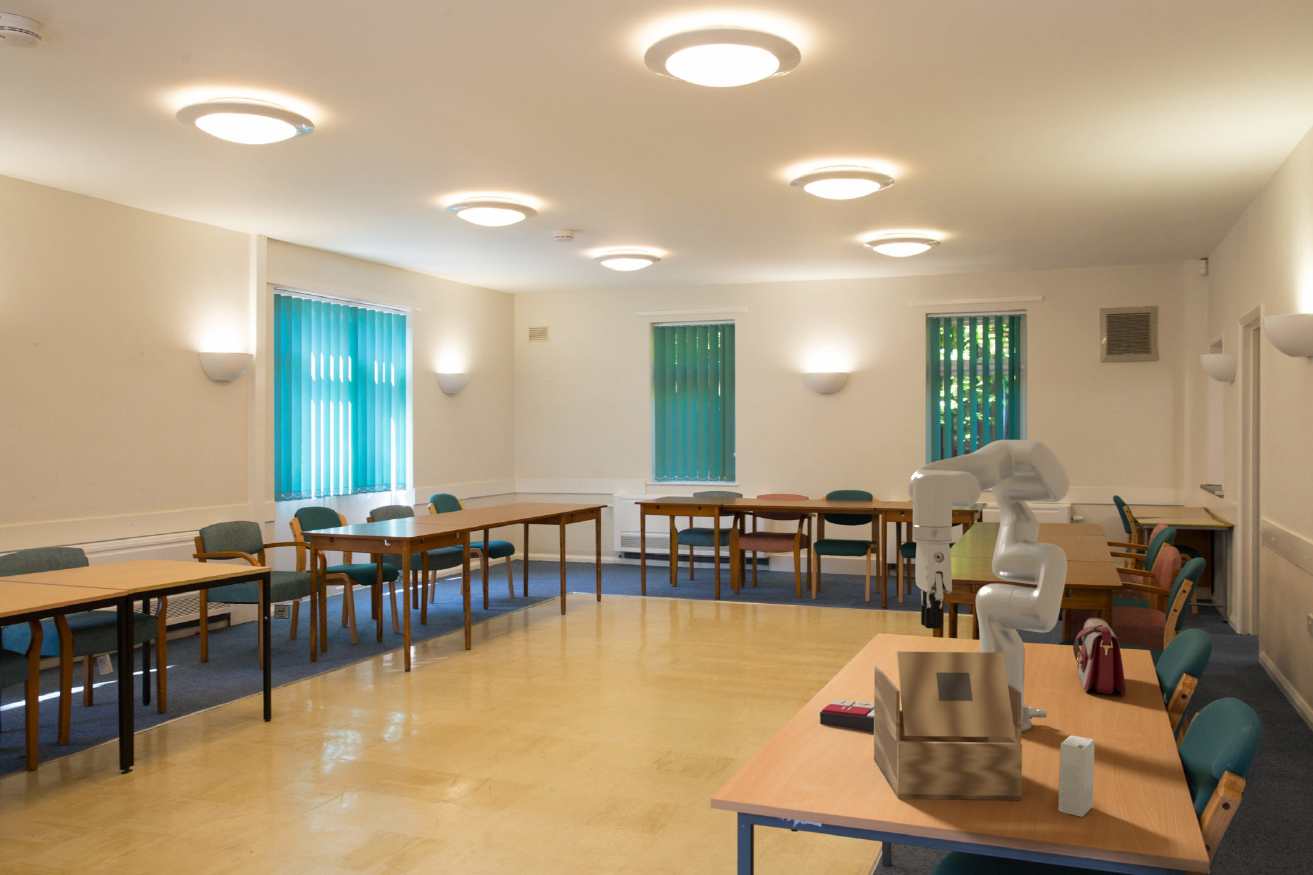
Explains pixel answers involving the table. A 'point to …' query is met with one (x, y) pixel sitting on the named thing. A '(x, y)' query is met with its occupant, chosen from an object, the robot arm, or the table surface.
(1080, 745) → the skincare box
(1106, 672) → the handbag
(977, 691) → the carton flap
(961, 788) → the carton
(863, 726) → the calculator
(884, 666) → the table surface
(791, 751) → the table surface
